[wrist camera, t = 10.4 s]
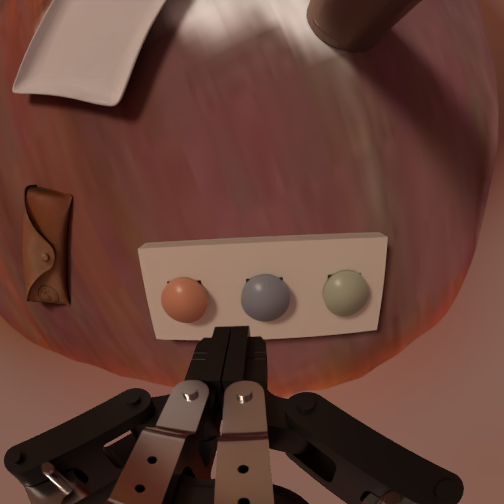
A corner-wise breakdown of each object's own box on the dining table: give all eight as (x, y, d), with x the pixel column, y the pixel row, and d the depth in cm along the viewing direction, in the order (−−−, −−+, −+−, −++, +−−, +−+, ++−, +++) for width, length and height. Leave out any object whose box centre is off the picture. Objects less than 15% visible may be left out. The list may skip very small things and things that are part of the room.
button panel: (379, 232, 32) (387, 237, 30) (370, 320, 35) (376, 329, 33) (145, 243, 33) (137, 248, 31) (162, 329, 37) (156, 339, 34)
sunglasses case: (73, 310, 36) (36, 321, 31) (56, 290, 40) (23, 298, 34) (74, 190, 31) (29, 193, 26) (58, 182, 35) (19, 184, 29)
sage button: (340, 253, 33) (349, 263, 29) (366, 280, 34) (377, 292, 30) (309, 284, 34) (314, 297, 30) (337, 308, 35) (344, 324, 31)
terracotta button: (186, 260, 33) (178, 271, 30) (220, 288, 34) (215, 302, 31) (162, 289, 35) (152, 302, 31) (194, 315, 35) (188, 330, 32)
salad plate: (194, -23, 23) (189, -37, 20) (129, 112, 29) (116, 107, 26) (78, -19, 21) (68, -27, 18) (24, 96, 27) (9, 93, 24)
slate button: (263, 256, 33) (263, 268, 29) (295, 284, 34) (299, 298, 30) (233, 287, 34) (230, 301, 31) (266, 313, 35) (266, 329, 31)
